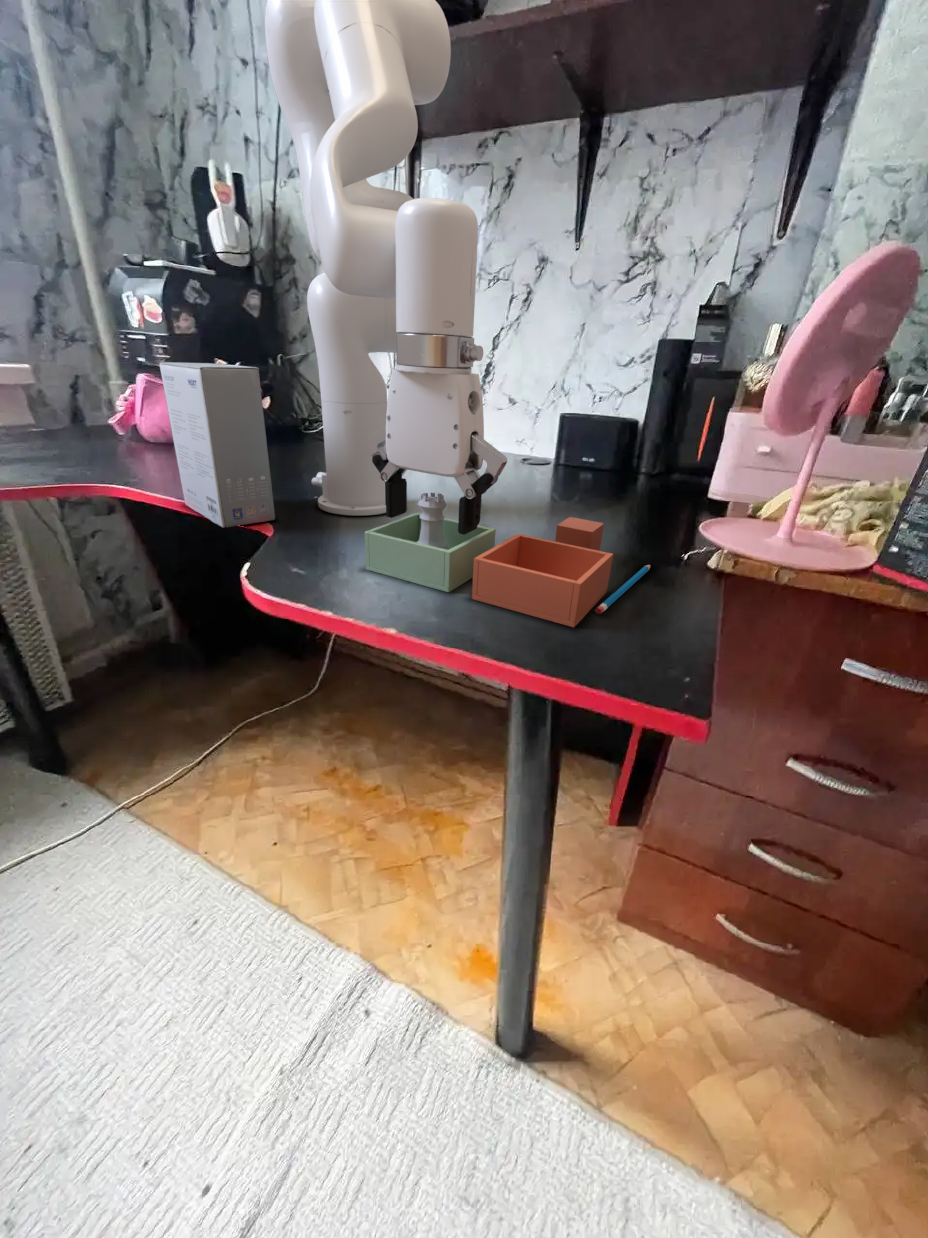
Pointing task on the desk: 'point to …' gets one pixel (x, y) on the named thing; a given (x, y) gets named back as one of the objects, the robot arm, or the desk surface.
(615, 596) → the pencil
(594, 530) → the terracotta block
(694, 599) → the desk surface
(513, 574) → the terracotta bin
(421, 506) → the rook chess piece
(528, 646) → the desk surface
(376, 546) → the sage bin
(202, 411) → the hard drive box
